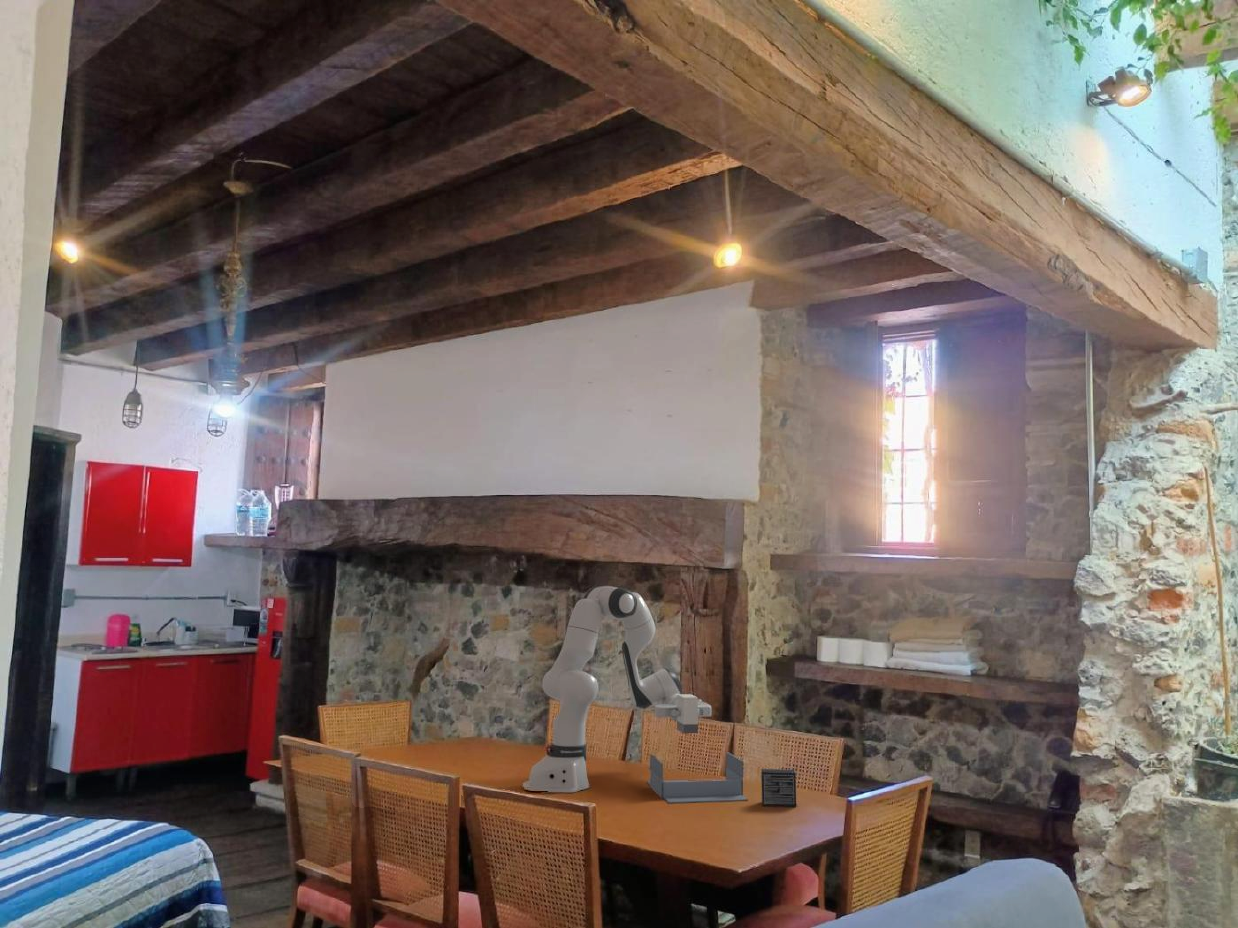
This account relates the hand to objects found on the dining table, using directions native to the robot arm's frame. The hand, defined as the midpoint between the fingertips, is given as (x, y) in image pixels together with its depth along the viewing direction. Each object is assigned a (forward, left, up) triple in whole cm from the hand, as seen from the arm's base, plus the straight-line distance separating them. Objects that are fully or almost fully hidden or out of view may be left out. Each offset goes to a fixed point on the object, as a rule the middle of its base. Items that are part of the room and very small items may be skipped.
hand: (688, 713), depth 333 cm
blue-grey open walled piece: (0, -10, -24) cm, 26 cm away
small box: (+21, -32, -24) cm, 45 cm away
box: (0, +1, -6) cm, 6 cm away
